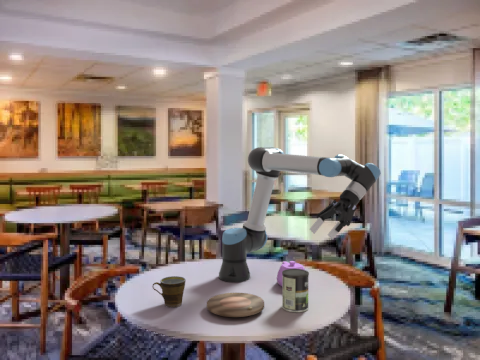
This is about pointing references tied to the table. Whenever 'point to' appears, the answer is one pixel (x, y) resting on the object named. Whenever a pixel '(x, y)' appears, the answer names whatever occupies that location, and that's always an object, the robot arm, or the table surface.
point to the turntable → (235, 304)
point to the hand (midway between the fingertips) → (320, 234)
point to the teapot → (285, 266)
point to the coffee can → (295, 290)
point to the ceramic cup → (172, 290)
